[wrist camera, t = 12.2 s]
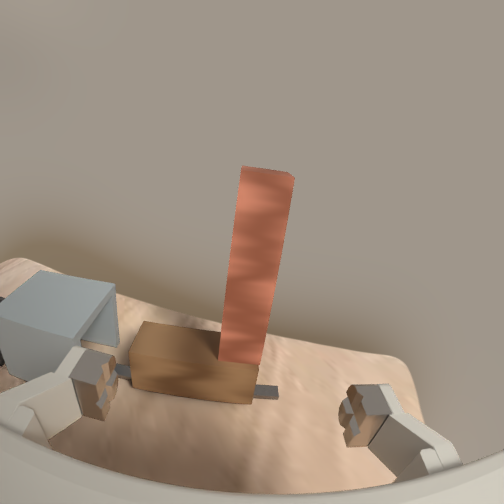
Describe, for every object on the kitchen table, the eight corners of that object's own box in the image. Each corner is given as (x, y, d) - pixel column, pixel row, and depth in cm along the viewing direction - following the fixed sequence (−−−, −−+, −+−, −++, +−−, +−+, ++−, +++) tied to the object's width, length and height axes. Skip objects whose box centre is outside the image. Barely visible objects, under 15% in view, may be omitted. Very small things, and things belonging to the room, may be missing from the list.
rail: (20, 349, 24) (19, 346, 24) (26, 341, 25) (26, 338, 25) (277, 399, 26) (278, 396, 26) (276, 388, 27) (277, 386, 27)
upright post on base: (132, 387, 23) (125, 160, 17) (145, 355, 27) (148, 155, 21) (252, 404, 24) (296, 179, 18) (251, 370, 28) (286, 171, 22)
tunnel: (9, 374, 20) (-12, 312, 18) (49, 325, 29) (40, 270, 27) (88, 402, 21) (72, 338, 19) (119, 341, 30) (115, 283, 27)
